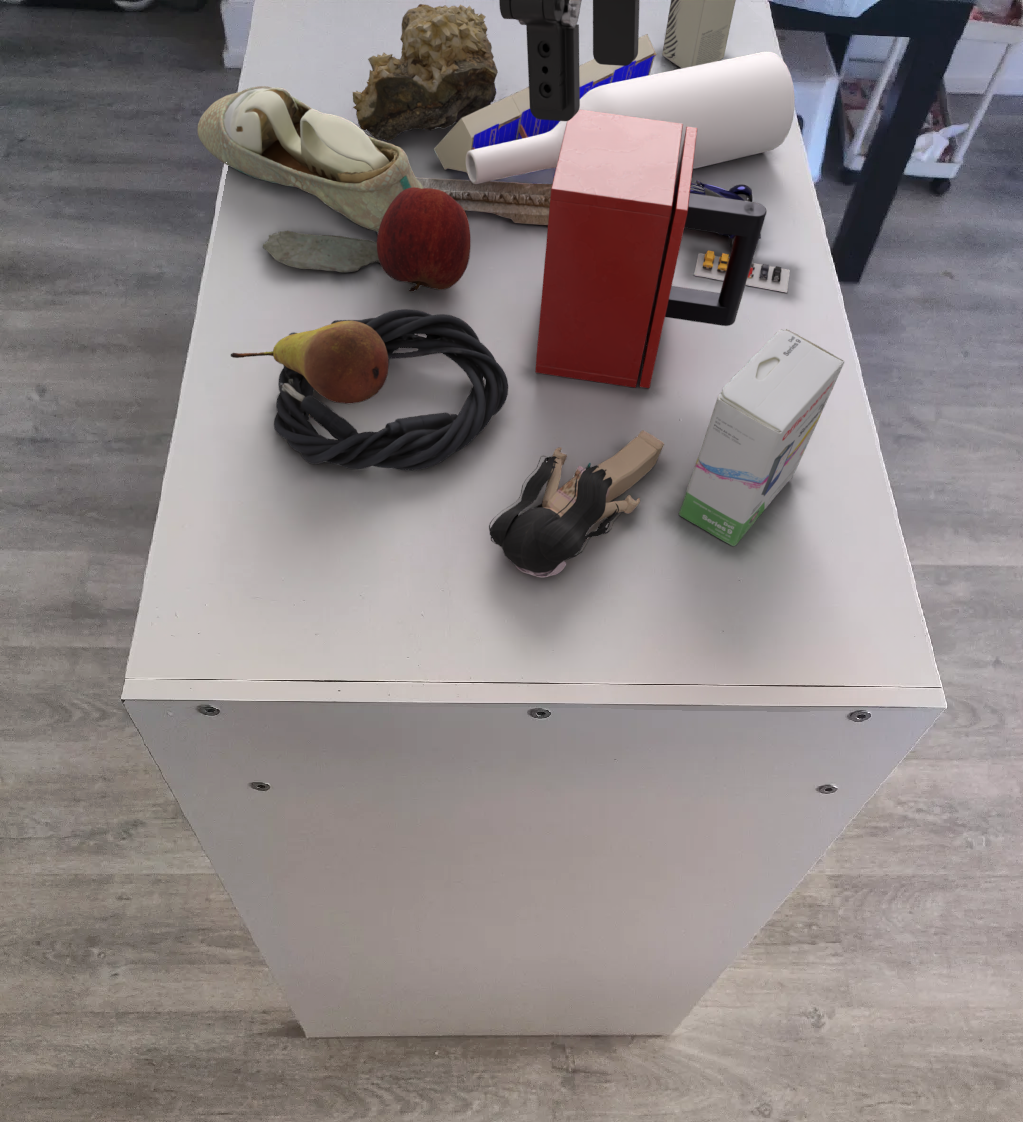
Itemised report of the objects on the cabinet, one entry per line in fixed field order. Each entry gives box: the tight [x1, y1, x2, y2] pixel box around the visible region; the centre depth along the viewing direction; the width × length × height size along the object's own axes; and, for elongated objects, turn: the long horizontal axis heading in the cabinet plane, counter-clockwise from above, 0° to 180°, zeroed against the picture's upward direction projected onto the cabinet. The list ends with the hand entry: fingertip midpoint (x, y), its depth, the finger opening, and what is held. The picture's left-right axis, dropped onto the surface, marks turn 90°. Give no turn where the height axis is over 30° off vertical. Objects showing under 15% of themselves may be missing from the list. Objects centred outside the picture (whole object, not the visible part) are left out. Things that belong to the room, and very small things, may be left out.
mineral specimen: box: [352, 3, 499, 142], centre depth 93 cm, size 14×13×10 cm
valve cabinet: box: [534, 109, 683, 388], centre depth 76 cm, size 8×10×16 cm
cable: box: [273, 308, 509, 472], centre depth 75 cm, size 17×14×4 cm
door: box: [639, 126, 767, 389], centre depth 75 cm, size 6×10×15 cm, turn 171°
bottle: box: [466, 51, 796, 184], centre depth 90 cm, size 8×8×30 cm
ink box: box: [678, 328, 845, 547], centre depth 69 cm, size 9×5×12 cm, turn 143°
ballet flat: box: [196, 85, 423, 233], centre depth 87 cm, size 8×25×8 cm, turn 57°
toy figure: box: [488, 430, 665, 578], centre depth 70 cm, size 7×6×15 cm
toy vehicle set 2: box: [693, 250, 791, 294], centre depth 87 cm, size 3×8×1 cm, turn 77°
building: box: [433, 33, 658, 175], centre depth 94 cm, size 23×6×4 cm
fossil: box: [416, 177, 552, 226], centre depth 90 cm, size 18×3×4 cm
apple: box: [376, 187, 472, 293], centre depth 81 cm, size 7×8×8 cm
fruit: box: [230, 321, 389, 405], centre depth 72 cm, size 6×6×12 cm
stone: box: [262, 230, 380, 273], centre depth 85 cm, size 11×2×5 cm
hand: (586, 88), depth 50 cm, fingers open, 8 cm apart
